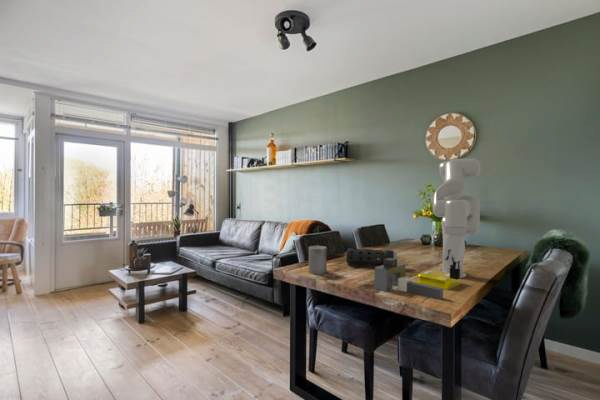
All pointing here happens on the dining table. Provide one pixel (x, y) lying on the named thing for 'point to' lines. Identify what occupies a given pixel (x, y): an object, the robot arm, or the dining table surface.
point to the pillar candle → (317, 260)
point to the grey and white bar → (419, 288)
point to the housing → (388, 274)
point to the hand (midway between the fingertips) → (454, 278)
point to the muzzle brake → (368, 257)
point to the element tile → (438, 279)
